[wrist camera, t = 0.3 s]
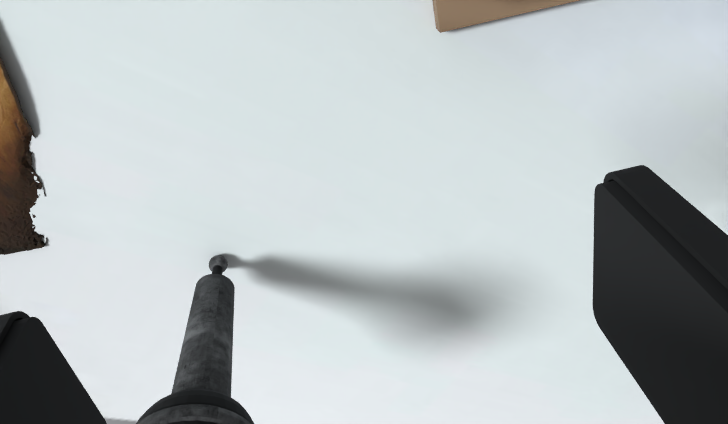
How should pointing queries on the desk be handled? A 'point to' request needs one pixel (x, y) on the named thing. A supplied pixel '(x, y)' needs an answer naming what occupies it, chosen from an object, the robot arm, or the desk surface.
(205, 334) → the microphone
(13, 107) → the parchment
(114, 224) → the desk surface
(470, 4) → the wooden pegged board
